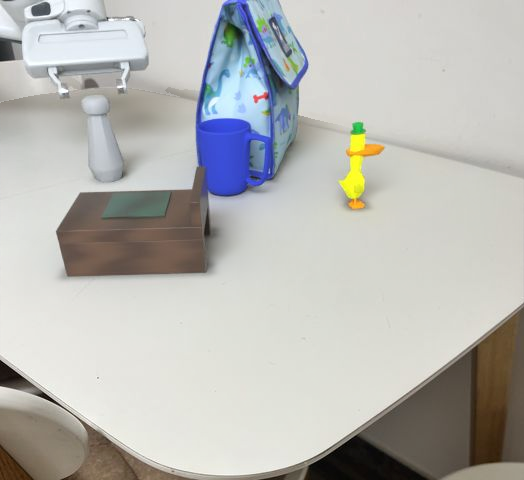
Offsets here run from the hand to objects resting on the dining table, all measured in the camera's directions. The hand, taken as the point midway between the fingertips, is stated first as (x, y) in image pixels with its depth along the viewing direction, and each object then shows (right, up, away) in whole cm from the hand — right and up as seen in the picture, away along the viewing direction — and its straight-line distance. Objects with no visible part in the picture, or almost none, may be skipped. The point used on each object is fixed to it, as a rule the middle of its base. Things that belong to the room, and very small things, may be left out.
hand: (93, 94), depth 95 cm
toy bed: (+13, -30, -20) cm, 38 cm away
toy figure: (+42, -21, -10) cm, 48 cm away
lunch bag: (+27, -8, +9) cm, 29 cm away
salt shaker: (+2, -13, +2) cm, 14 cm away
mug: (+24, -18, -4) cm, 30 cm away
